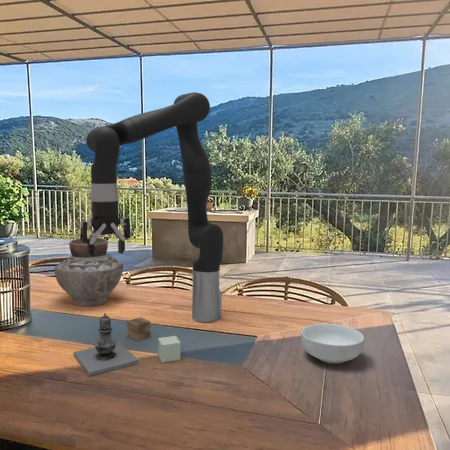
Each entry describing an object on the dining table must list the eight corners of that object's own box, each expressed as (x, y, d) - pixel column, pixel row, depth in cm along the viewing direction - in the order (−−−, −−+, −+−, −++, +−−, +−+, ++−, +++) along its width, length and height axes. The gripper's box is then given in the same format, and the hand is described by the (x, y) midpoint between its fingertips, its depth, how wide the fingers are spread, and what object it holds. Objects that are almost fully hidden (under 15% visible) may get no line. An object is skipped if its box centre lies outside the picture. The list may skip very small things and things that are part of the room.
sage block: (175, 352, 121) (175, 335, 121) (180, 360, 117) (180, 342, 116) (158, 355, 120) (158, 338, 119) (162, 362, 115) (162, 345, 114)
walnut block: (141, 332, 136) (141, 317, 135) (150, 337, 132) (150, 321, 132) (127, 336, 132) (127, 320, 132) (136, 341, 129) (136, 325, 128)
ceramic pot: (113, 313, 152) (112, 247, 149) (43, 312, 152) (41, 245, 149) (130, 293, 177) (129, 235, 173) (70, 291, 177) (68, 234, 174)
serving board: (119, 345, 125) (119, 341, 125) (138, 363, 114) (138, 359, 114) (73, 355, 118) (73, 352, 118) (89, 376, 107) (89, 372, 107)
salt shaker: (110, 361, 113) (110, 317, 111) (90, 359, 114) (89, 315, 112) (120, 352, 118) (120, 310, 117) (100, 350, 119) (99, 308, 118)
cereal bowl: (363, 350, 125) (365, 327, 124) (361, 376, 110) (363, 349, 109) (304, 341, 131) (305, 319, 130) (295, 365, 115) (296, 339, 114)
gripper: (123, 197, 130) (124, 250, 132) (75, 199, 121) (78, 255, 124) (133, 199, 124) (135, 254, 126) (84, 201, 116) (86, 260, 118)
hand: (106, 255), depth 125 cm, fingers open, 8 cm apart
